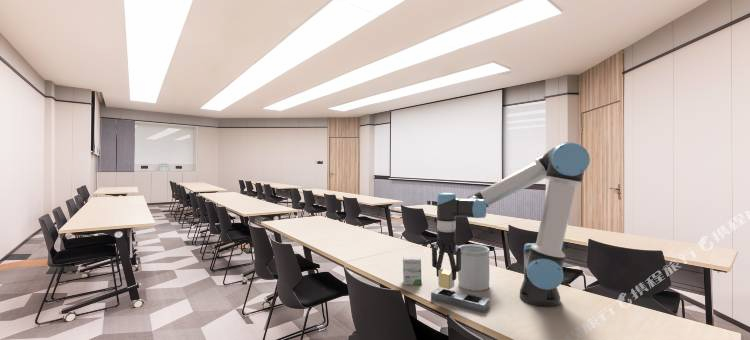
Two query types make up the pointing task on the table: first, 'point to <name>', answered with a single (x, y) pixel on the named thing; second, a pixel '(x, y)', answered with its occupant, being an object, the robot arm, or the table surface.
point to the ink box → (412, 271)
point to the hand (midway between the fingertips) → (446, 285)
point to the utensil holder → (474, 267)
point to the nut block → (444, 279)
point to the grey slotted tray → (461, 299)
